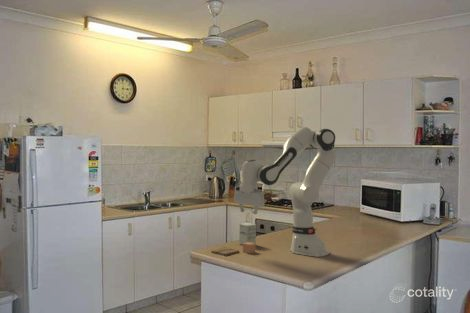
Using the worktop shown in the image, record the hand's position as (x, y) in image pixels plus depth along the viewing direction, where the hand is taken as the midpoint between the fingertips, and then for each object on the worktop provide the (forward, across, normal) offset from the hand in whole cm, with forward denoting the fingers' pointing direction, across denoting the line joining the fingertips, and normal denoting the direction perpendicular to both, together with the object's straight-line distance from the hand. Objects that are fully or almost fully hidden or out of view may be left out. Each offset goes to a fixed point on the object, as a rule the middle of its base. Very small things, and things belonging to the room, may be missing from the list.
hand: (248, 213), depth 230 cm
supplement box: (+22, +12, -13) cm, 28 cm away
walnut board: (+22, +8, +10) cm, 25 cm away
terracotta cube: (+22, -1, 0) cm, 22 cm away
